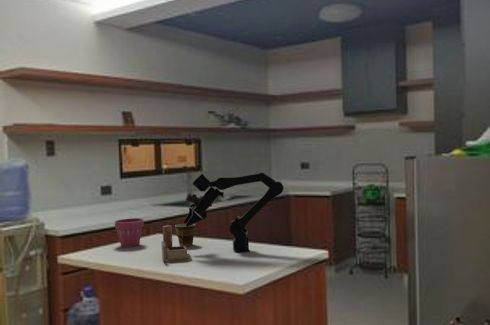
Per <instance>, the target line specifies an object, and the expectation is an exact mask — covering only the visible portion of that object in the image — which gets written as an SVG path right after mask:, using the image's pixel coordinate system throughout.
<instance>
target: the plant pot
mask: <svg viewBox="0 0 490 325" xmlns="http://www.w3.org/2000/svg"><path fill="white" fill-rule="evenodd" d="M144 226H145V225H144V219H143V218H137V217H136V218H133V217H132V218H123V219H118V220H115V221H114V228H115V230H116V231H117V236H118V240H119V242H120V246H121V247H125V248H127V247H128V248H130V247H131V248H132V247H137V246H139V245H140V243H141V237H142V229H143V228H144Z"/></svg>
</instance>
